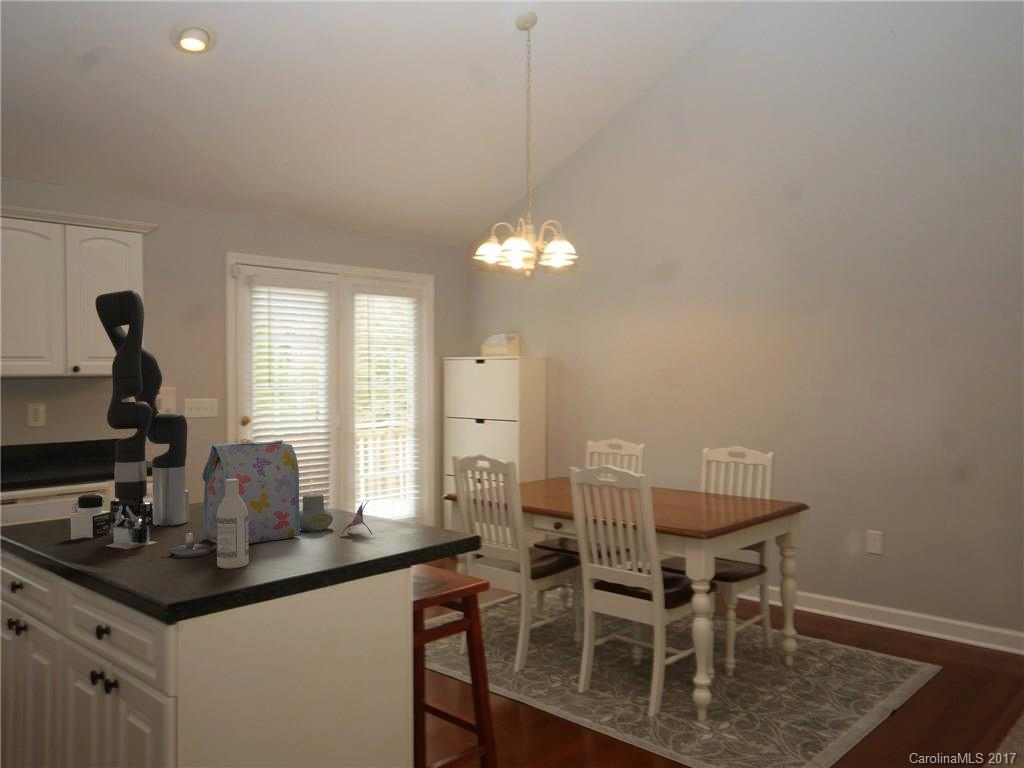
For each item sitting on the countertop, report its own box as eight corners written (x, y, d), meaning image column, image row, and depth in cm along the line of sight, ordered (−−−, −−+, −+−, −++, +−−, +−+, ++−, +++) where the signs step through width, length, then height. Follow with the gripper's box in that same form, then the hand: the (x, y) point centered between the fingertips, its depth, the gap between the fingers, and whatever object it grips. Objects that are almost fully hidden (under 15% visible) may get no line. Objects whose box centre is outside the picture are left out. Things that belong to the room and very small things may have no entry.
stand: (136, 543, 214) (136, 516, 214) (158, 546, 209) (157, 519, 209) (104, 549, 206) (104, 522, 206) (126, 552, 202) (126, 524, 202)
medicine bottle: (93, 541, 217) (92, 496, 217) (70, 540, 219) (69, 496, 218) (111, 536, 224) (110, 493, 224) (89, 535, 226) (88, 492, 225)
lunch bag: (275, 530, 231) (274, 437, 231) (305, 537, 219) (304, 440, 219) (198, 541, 215) (196, 442, 215) (226, 550, 203) (224, 446, 203)
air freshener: (302, 534, 223) (302, 498, 223) (289, 530, 230) (288, 495, 230) (337, 529, 231) (337, 494, 231) (323, 525, 237) (323, 491, 237)
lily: (364, 532, 231) (347, 504, 230) (393, 519, 225) (376, 490, 224) (341, 553, 221) (323, 523, 220) (371, 540, 215) (352, 510, 214)
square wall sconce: (134, 540, 212) (134, 523, 212) (149, 542, 209) (149, 525, 209) (113, 544, 207) (113, 527, 207) (128, 547, 204) (128, 529, 204)
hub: (193, 548, 206) (192, 529, 206) (217, 552, 201) (216, 532, 201) (162, 555, 198) (162, 535, 198) (186, 559, 193) (186, 538, 193)
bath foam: (238, 561, 191) (237, 476, 191) (254, 565, 187) (253, 479, 186) (211, 566, 186) (210, 479, 186) (227, 570, 181) (226, 482, 181)
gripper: (161, 478, 207) (162, 541, 207) (126, 476, 214) (127, 536, 215) (135, 482, 201) (136, 547, 201) (100, 479, 208) (101, 541, 208)
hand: (131, 541), depth 208 cm, fingers open, 8 cm apart
